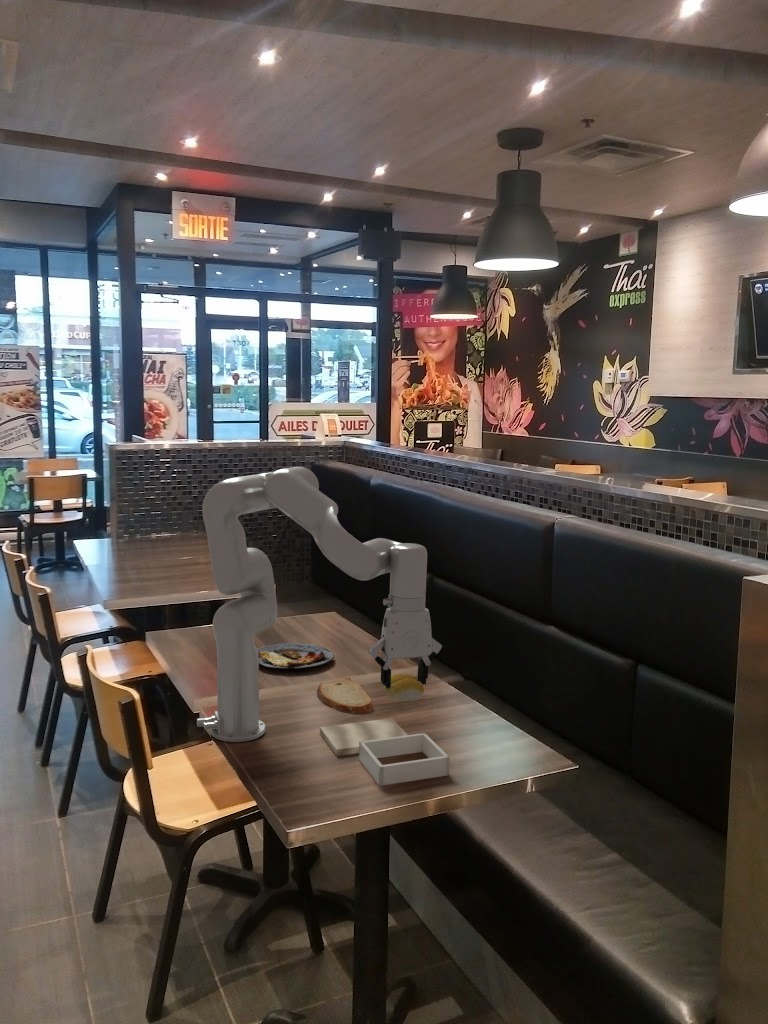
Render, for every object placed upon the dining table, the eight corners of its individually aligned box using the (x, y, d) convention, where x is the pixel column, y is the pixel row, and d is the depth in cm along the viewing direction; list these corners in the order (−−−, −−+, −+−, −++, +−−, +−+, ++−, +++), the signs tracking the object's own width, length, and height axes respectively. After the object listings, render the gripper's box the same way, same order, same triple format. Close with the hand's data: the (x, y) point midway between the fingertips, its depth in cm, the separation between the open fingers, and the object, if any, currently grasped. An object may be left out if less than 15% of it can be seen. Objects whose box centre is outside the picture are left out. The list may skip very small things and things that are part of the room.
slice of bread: (370, 716, 206) (370, 702, 206) (302, 707, 211) (302, 693, 210) (388, 692, 223) (389, 679, 223) (325, 684, 228) (325, 671, 227)
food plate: (347, 665, 243) (347, 654, 242) (276, 680, 230) (276, 668, 229) (306, 645, 263) (306, 635, 263) (238, 658, 250) (238, 646, 250)
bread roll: (415, 685, 181) (416, 668, 180) (427, 701, 172) (428, 682, 172) (379, 687, 179) (379, 669, 178) (388, 703, 170) (389, 684, 170)
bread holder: (379, 785, 169) (380, 767, 168) (358, 759, 181) (359, 741, 181) (449, 775, 174) (449, 757, 174) (424, 749, 187) (424, 733, 186)
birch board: (336, 756, 182) (336, 749, 182) (320, 733, 194) (320, 727, 194) (412, 745, 189) (412, 739, 188) (391, 724, 201) (391, 718, 201)
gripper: (374, 610, 166) (371, 694, 169) (452, 604, 172) (448, 686, 175) (362, 600, 173) (359, 681, 176) (437, 596, 179) (434, 674, 182)
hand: (404, 683), depth 175 cm, fingers closed on bread roll, 7 cm apart
